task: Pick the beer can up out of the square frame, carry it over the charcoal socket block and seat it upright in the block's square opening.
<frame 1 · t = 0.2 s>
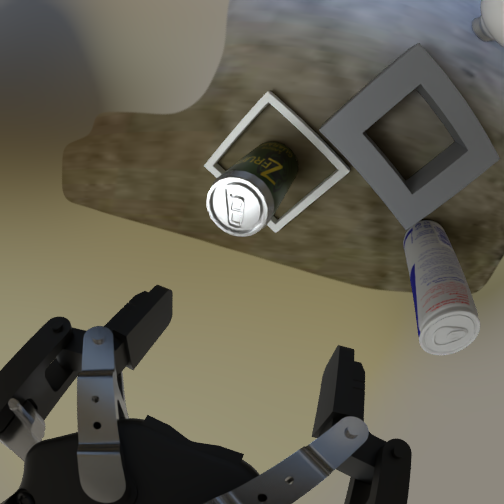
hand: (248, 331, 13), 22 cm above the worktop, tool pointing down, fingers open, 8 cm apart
square frame: (275, 163, 31), on the worktop
beer can: (275, 162, 31), resting in square frame
beverage can: (424, 238, 30), on the worktop
lightbulb: (479, 30, 14), on the worktop
socket block: (410, 133, 24), on the worktop
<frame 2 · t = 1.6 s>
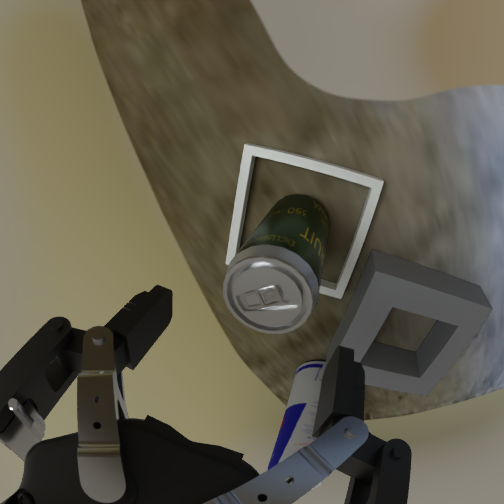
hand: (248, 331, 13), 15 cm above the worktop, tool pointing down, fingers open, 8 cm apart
square frame: (299, 221, 25), on the worktop
beer can: (300, 220, 26), resting in square frame
beverage can: (318, 371, 33), on the worktop
socket block: (403, 320, 26), on the worktop
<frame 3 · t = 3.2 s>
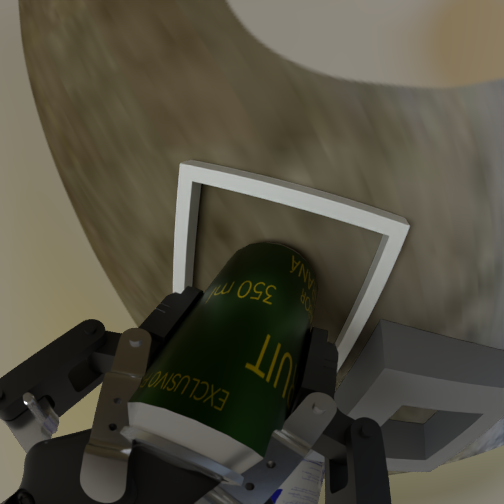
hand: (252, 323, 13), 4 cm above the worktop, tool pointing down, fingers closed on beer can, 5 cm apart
square frame: (272, 279, 17), on the worktop
beer can: (273, 277, 17), resting in square frame, touching gripper
beverage can: (303, 439, 25), on the worktop
socket block: (413, 396, 18), on the worktop
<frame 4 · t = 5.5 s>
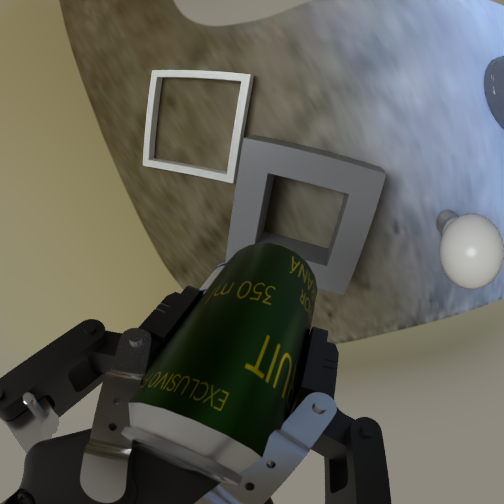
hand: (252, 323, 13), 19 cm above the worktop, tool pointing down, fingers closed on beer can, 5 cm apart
square frame: (194, 121, 29), on the worktop
beer can: (273, 278, 17), point 15 cm above the worktop, touching gripper
lightbulb: (444, 219, 26), on the worktop
socket block: (303, 208, 30), on the worktop
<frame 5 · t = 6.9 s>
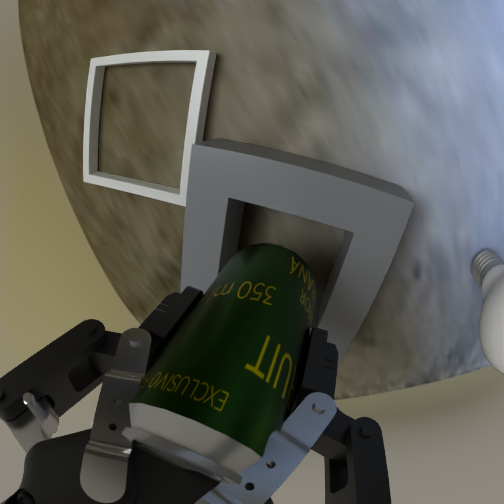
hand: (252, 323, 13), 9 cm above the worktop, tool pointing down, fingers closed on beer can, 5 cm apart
square frame: (140, 121, 20), on the worktop
beer can: (273, 278, 17), point 5 cm above the worktop, touching gripper
lightbulb: (480, 260, 17), on the worktop
socket block: (288, 243, 21), on the worktop
when the fingers open (5 cm above the worktop, at t = 8.2 s): beer can drops 1 cm, resting in socket block.
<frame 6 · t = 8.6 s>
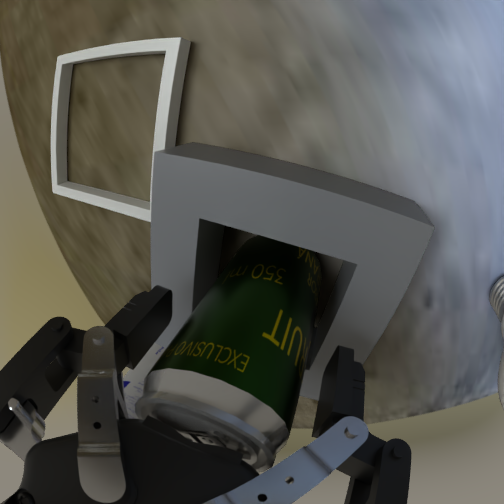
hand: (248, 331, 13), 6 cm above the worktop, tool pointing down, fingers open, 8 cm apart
square frame: (108, 124, 17), on the worktop
beer can: (280, 266, 18), resting in socket block
beverage can: (185, 348, 25), on the worktop
lightbulb: (499, 285, 14), on the worktop
socket block: (277, 267, 18), on the worktop
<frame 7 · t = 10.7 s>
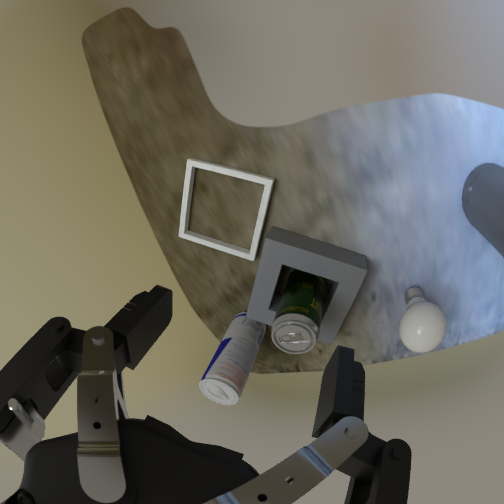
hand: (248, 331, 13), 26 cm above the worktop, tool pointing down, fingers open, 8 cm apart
square frame: (224, 208, 39), on the worktop
beer can: (306, 280, 41), resting in socket block
beverage can: (250, 322, 47), on the worktop
lightbulb: (412, 291, 37), on the worktop
socket block: (305, 280, 40), on the worktop
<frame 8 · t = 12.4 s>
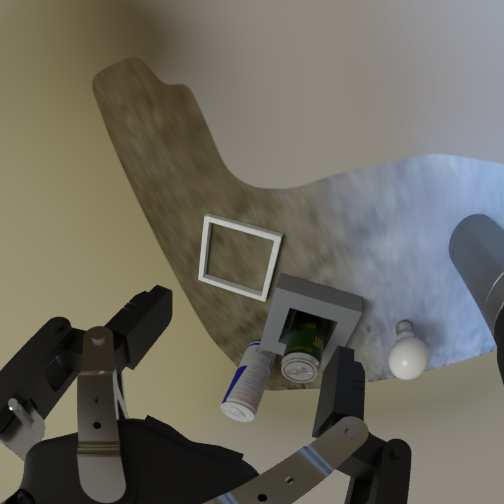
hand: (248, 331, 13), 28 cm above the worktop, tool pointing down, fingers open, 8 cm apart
square frame: (238, 256, 45), on the worktop
beer can: (311, 316, 46), resting in socket block
beverage can: (262, 349, 53), on the worktop
lightbulb: (402, 324, 42), on the worktop
socket block: (310, 316, 46), on the worktop
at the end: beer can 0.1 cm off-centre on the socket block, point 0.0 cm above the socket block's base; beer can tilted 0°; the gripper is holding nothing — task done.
